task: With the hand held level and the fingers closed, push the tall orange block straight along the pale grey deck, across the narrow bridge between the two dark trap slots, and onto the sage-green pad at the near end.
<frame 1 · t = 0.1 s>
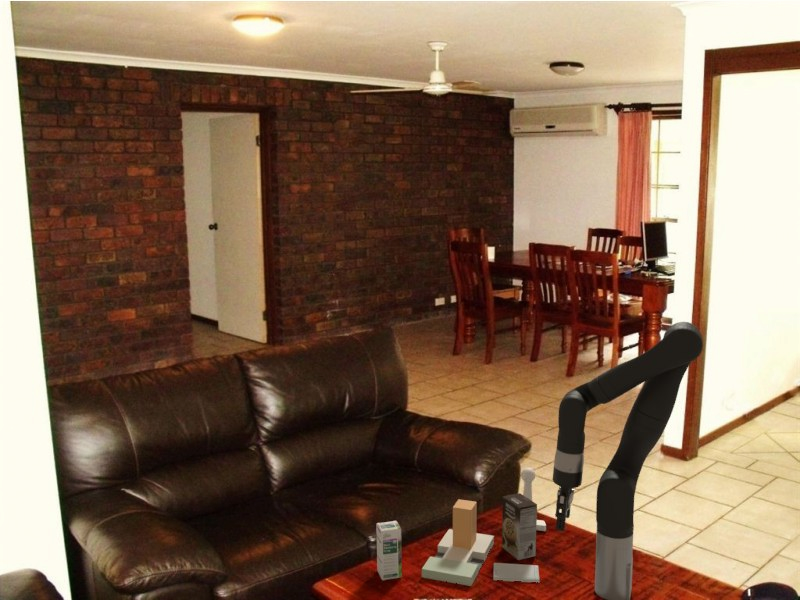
hand: (562, 523, 207), 17 cm above the table, tool pointing down, fingers open, 8 cm apart
hard drive: (515, 576, 215), on the table
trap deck: (459, 559, 223), on the table
coffee box: (518, 552, 228), on the table
orange block: (464, 543, 228), point 2 cm above the table, touching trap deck
syrup box: (389, 575, 215), on the table
joystick: (527, 532, 241), on the table
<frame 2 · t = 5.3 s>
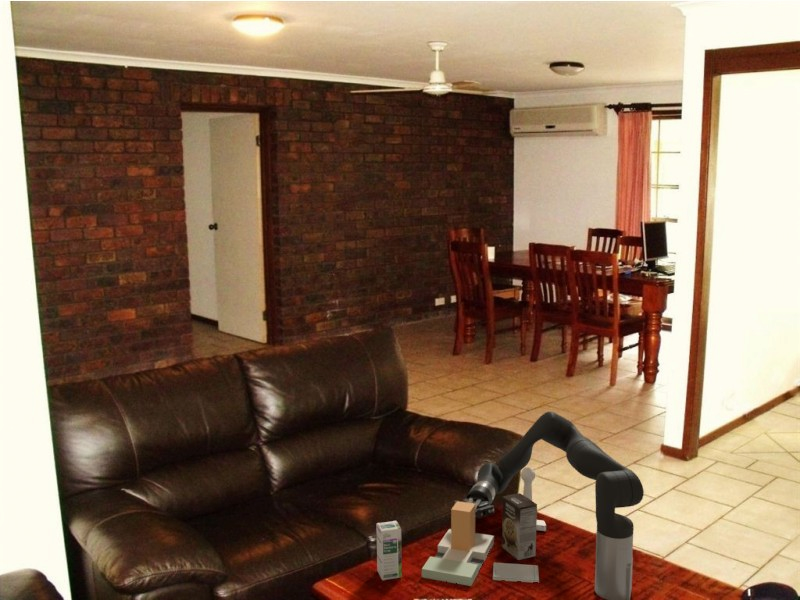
hand: (466, 518, 228), 9 cm above the table, tool horizontal, fingers closed
orange block: (463, 545, 226), point 3 cm above the table, touching gripper
everything else where it was.
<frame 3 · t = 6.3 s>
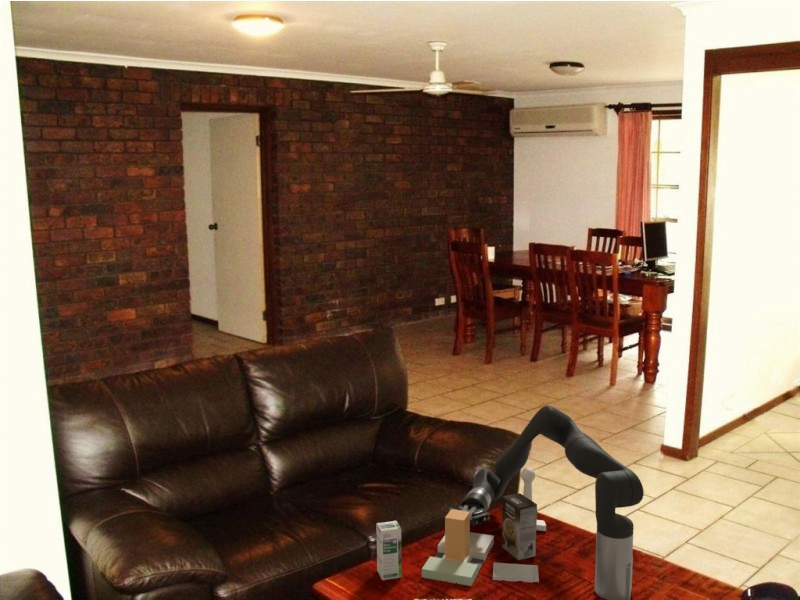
hand: (460, 527, 223), 9 cm above the table, tool horizontal, fingers closed
orange block: (457, 554, 221), point 3 cm above the table, touching gripper
everything else where it was.
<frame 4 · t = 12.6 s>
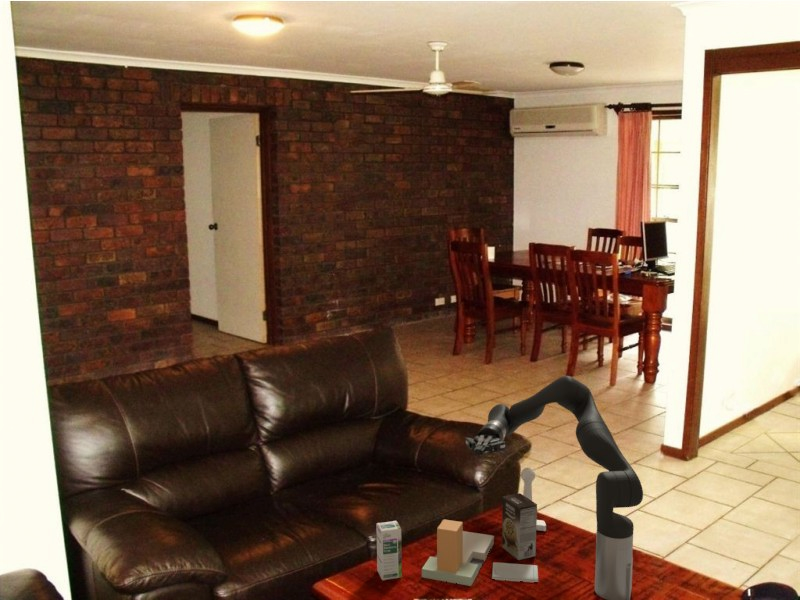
hand: (478, 452, 230), 28 cm above the table, tool horizontal, fingers closed
orange block: (449, 566, 214), point 2 cm above the table, touching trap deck
everything else where it was.
at the end: orange block 0.8 cm from the target spot, point 2.5 cm above the table; orange block tilted 0° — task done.
